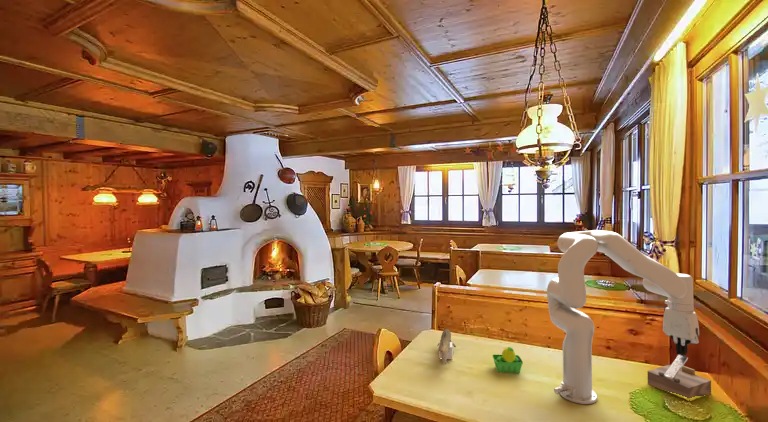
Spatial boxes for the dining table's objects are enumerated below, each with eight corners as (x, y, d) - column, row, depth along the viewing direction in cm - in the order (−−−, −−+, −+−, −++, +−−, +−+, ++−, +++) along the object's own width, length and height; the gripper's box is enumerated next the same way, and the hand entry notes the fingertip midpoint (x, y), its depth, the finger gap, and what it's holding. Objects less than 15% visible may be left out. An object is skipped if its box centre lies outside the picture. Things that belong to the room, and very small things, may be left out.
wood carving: (433, 376, 150) (432, 350, 150) (438, 343, 184) (438, 322, 184) (455, 377, 148) (454, 351, 148) (456, 344, 183) (455, 322, 182)
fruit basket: (518, 366, 157) (518, 340, 157) (524, 376, 148) (524, 349, 148) (492, 365, 158) (491, 340, 158) (496, 375, 150) (496, 348, 149)
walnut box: (689, 402, 127) (689, 383, 126) (647, 383, 140) (647, 366, 139) (711, 393, 131) (711, 375, 131) (668, 376, 144) (668, 360, 144)
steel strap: (673, 380, 132) (672, 378, 132) (664, 376, 135) (663, 375, 134) (688, 358, 135) (687, 357, 135) (679, 355, 138) (678, 354, 138)
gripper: (653, 303, 141) (654, 349, 141) (697, 313, 127) (698, 364, 127) (665, 300, 144) (666, 345, 144) (710, 310, 130) (711, 360, 130)
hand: (681, 354), depth 136 cm, fingers closed
